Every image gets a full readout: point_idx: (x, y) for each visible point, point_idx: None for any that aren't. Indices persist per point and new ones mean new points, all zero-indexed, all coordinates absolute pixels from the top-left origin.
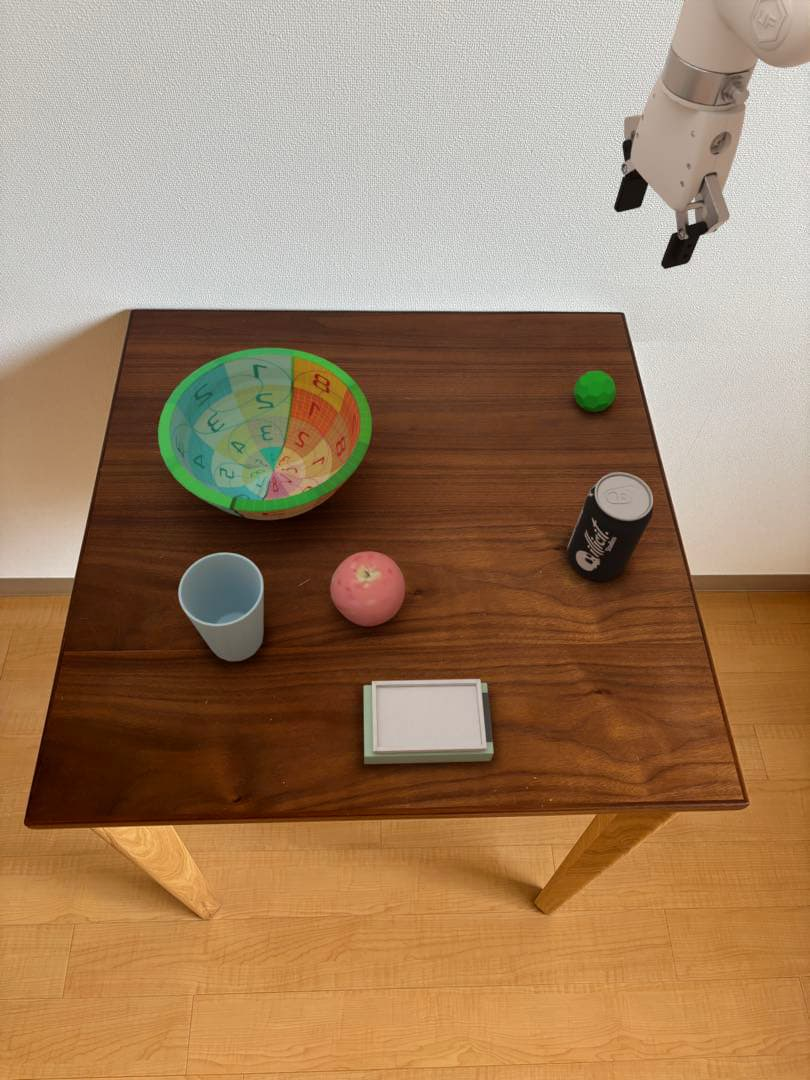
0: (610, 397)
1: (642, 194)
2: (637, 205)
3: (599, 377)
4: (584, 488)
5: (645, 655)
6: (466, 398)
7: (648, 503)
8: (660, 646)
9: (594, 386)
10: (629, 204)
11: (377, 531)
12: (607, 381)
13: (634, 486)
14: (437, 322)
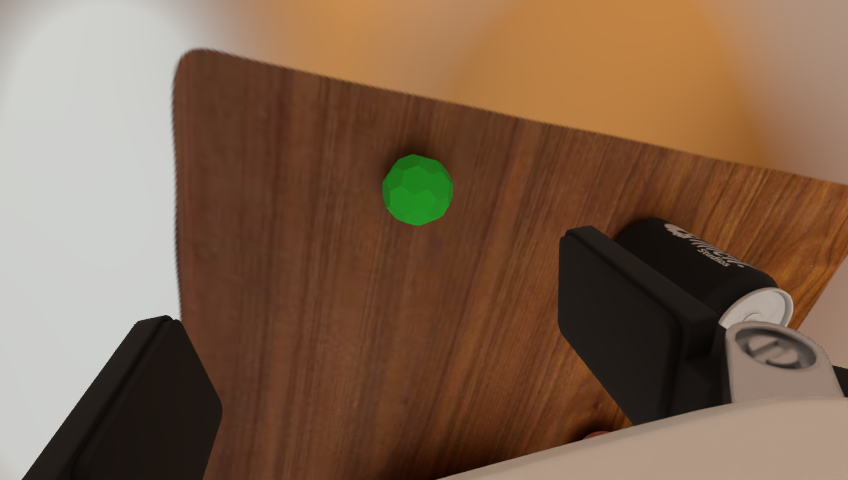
0: (447, 177)
1: (152, 379)
2: (182, 344)
3: (423, 201)
4: (549, 232)
5: (750, 229)
6: (367, 343)
7: (778, 294)
8: (752, 211)
9: (435, 211)
10: (197, 395)
11: (524, 432)
12: (432, 187)
13: (746, 304)
14: (202, 363)
